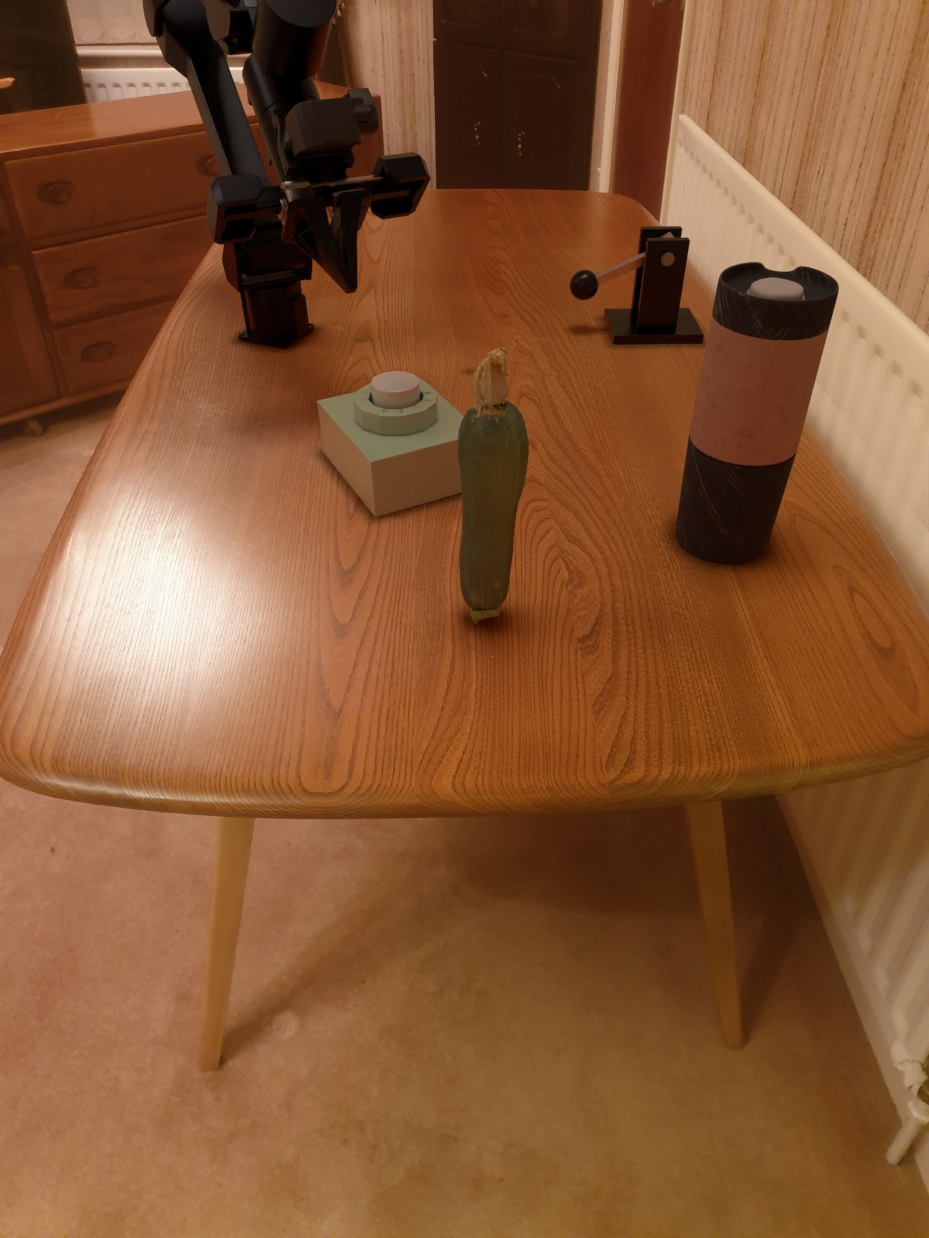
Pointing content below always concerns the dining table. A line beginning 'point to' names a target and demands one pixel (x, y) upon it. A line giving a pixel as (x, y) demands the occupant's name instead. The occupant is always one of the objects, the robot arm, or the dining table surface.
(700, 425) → the travel mug
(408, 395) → the pink push button
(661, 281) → the bracket
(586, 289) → the lever
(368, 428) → the push button box
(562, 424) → the dining table surface
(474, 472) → the vegetable
